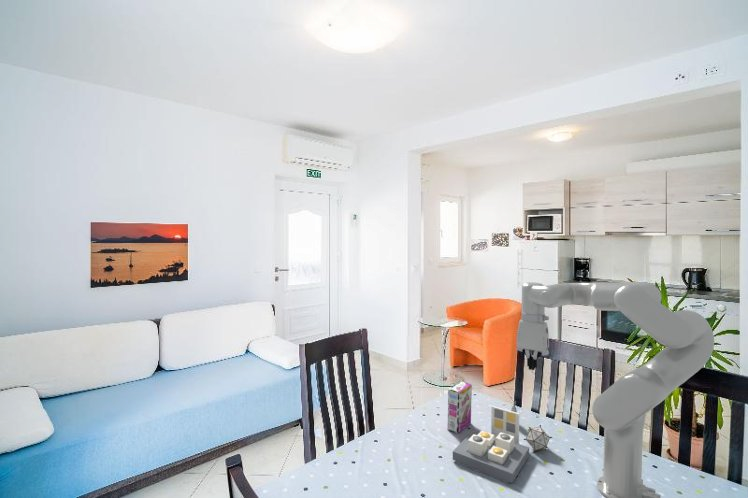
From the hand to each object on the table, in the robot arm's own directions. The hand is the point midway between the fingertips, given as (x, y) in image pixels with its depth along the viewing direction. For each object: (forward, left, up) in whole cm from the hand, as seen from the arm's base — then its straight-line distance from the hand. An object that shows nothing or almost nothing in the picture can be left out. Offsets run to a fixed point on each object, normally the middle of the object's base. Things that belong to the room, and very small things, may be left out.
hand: (532, 368), depth 136 cm
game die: (-2, -1, -29) cm, 29 cm away
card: (+9, +1, -29) cm, 30 cm away
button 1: (+13, +18, -27) cm, 35 cm away
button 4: (+6, +18, -28) cm, 34 cm away
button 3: (+6, +11, -27) cm, 30 cm away
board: (+9, +15, -29) cm, 34 cm away
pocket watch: (+12, -12, -29) cm, 34 cm away
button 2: (+13, +11, -28) cm, 33 cm away
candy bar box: (+27, +1, -29) cm, 40 cm away
